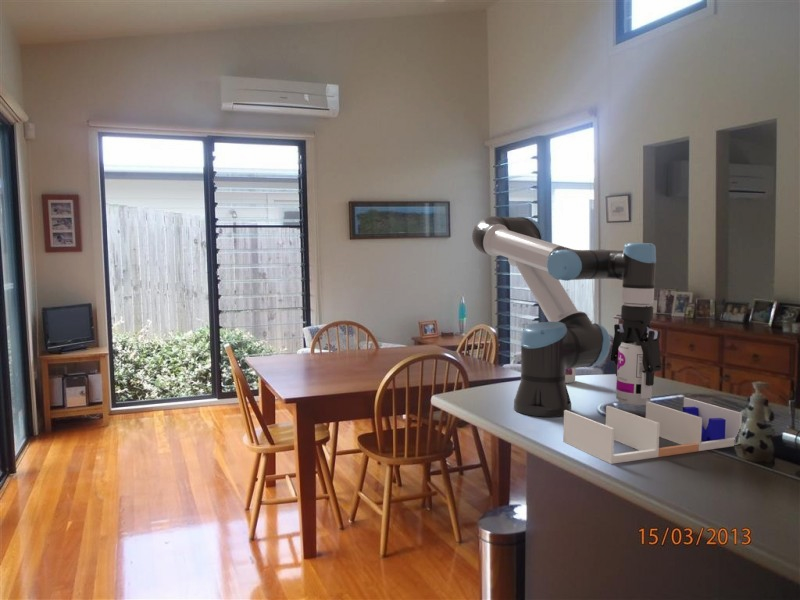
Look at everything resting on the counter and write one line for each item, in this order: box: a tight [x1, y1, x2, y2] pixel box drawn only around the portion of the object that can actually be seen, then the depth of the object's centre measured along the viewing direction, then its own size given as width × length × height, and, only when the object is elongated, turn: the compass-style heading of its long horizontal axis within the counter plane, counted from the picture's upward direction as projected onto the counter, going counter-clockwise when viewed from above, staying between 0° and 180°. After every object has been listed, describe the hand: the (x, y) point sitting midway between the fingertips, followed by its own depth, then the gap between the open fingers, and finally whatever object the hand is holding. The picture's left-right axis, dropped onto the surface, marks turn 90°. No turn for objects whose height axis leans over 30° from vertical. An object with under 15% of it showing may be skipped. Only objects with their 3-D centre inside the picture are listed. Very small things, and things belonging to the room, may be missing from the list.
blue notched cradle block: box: [682, 406, 726, 442], centre depth 147 cm, size 12×4×6 cm, turn 7°
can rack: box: [562, 397, 743, 465], centre depth 142 cm, size 35×16×7 cm, turn 111°
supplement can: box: [615, 342, 651, 406], centre depth 161 cm, size 8×8×15 cm
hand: (633, 393), depth 162 cm, fingers closed on supplement can, 8 cm apart
